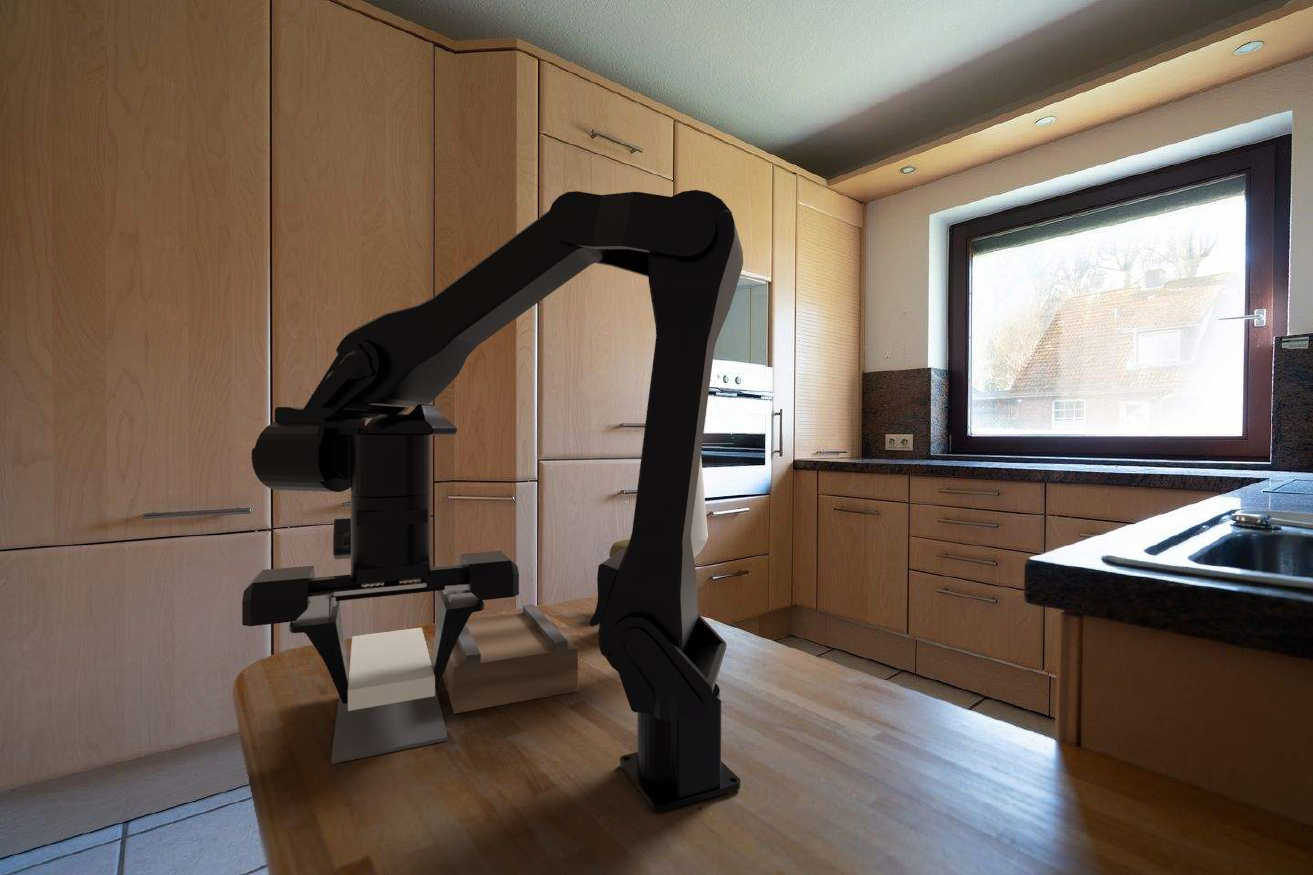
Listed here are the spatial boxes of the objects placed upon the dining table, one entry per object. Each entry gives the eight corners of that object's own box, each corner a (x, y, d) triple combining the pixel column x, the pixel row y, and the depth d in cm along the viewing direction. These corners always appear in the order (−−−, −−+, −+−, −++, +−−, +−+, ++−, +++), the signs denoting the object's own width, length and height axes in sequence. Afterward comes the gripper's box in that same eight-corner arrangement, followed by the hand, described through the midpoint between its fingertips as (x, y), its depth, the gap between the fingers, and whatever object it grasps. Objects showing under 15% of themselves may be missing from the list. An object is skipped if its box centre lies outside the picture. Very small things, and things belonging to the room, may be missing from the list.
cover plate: (434, 695, 47) (434, 676, 47) (347, 710, 44) (347, 690, 44) (421, 642, 59) (421, 627, 59) (352, 652, 56) (352, 636, 56)
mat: (447, 740, 47) (447, 736, 47) (331, 763, 44) (331, 759, 44) (433, 682, 58) (433, 679, 58) (339, 697, 55) (339, 694, 55)
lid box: (577, 690, 56) (578, 639, 56) (453, 713, 52) (454, 657, 52) (542, 645, 68) (542, 603, 68) (438, 661, 63) (438, 615, 63)
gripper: (494, 482, 58) (494, 643, 59) (266, 489, 50) (266, 676, 51) (520, 492, 48) (520, 687, 48) (240, 503, 40) (240, 737, 40)
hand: (391, 693), depth 47 cm, fingers closed on cover plate, 6 cm apart
